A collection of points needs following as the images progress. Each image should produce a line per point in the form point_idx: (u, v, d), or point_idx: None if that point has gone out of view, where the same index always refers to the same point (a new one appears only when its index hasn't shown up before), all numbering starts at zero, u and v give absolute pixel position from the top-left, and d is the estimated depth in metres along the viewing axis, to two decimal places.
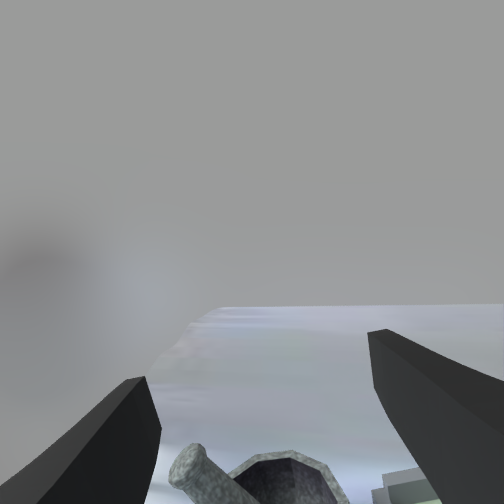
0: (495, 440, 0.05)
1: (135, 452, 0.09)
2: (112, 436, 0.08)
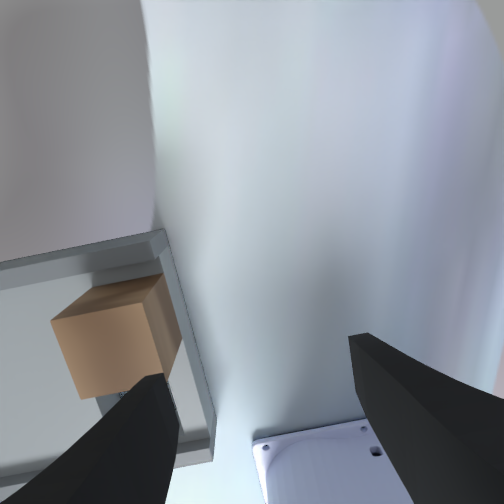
0: (456, 447, 0.05)
1: (157, 448, 0.09)
2: (136, 431, 0.08)
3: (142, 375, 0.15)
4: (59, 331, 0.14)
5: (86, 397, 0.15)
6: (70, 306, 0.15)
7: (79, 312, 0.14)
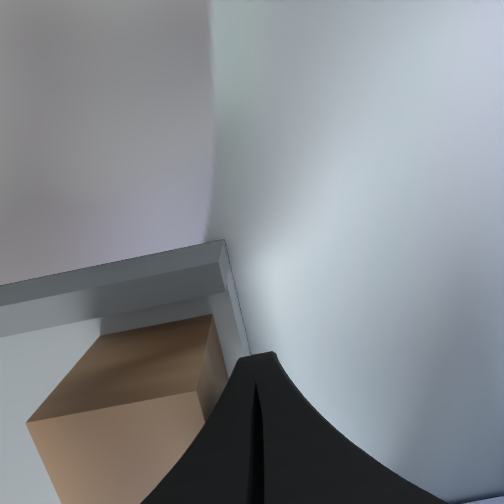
0: (266, 482, 0.05)
1: None
2: (258, 408, 0.08)
3: None
4: (44, 441, 0.08)
5: None
6: (64, 382, 0.09)
7: (79, 402, 0.08)
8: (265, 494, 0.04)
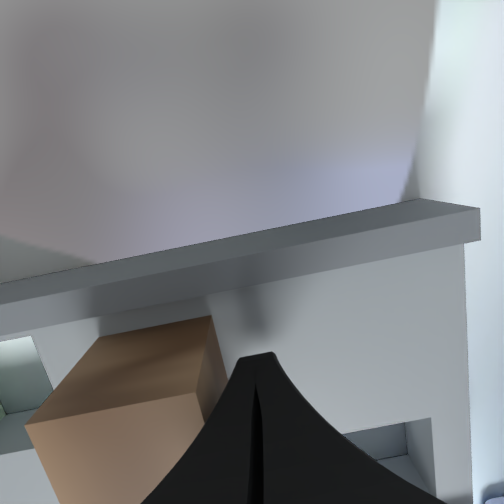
0: (265, 483, 0.05)
1: None
2: (258, 408, 0.08)
3: None
4: (43, 443, 0.08)
5: None
6: (63, 384, 0.09)
7: (78, 404, 0.08)
8: (264, 494, 0.04)
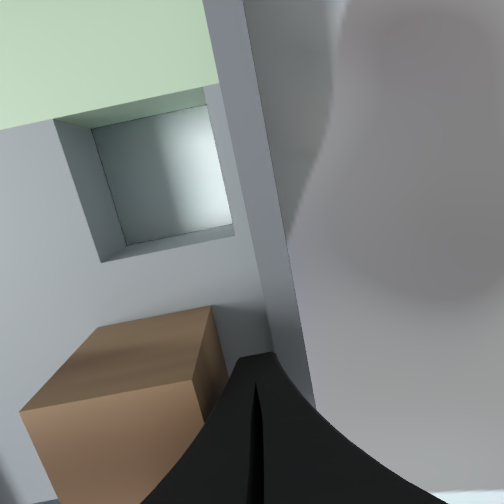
0: (266, 482, 0.05)
1: None
2: (257, 408, 0.08)
3: None
4: (169, 393, 0.07)
5: (26, 423, 0.07)
6: (201, 352, 0.09)
7: (205, 407, 0.08)
8: (265, 494, 0.04)
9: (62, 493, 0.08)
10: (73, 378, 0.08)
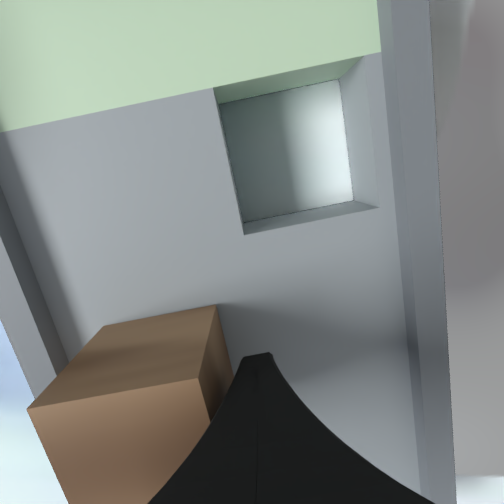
0: (259, 484, 0.05)
1: None
2: None
3: None
4: (175, 391, 0.07)
5: (34, 420, 0.07)
6: (207, 350, 0.09)
7: (211, 406, 0.08)
8: (257, 495, 0.04)
9: (69, 490, 0.08)
10: (80, 376, 0.08)
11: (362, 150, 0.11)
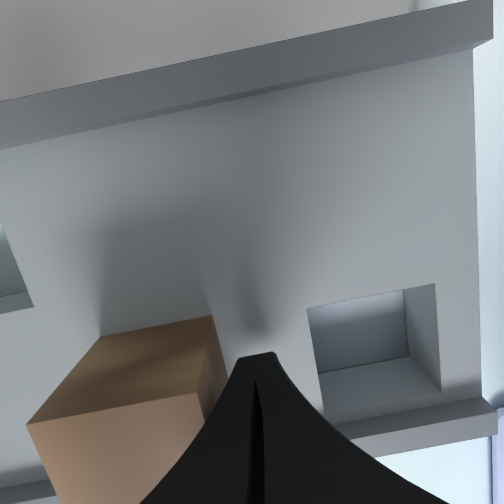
0: (266, 482, 0.05)
1: None
2: (257, 408, 0.08)
3: None
4: (44, 443, 0.08)
5: None
6: (65, 384, 0.09)
7: (79, 404, 0.08)
8: (265, 494, 0.04)
9: None
10: None
11: None
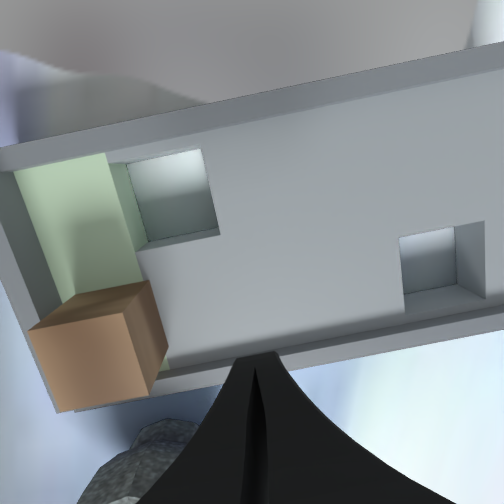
0: (270, 482, 0.05)
1: (263, 427, 0.09)
2: (254, 409, 0.08)
3: (123, 387, 0.14)
4: (37, 342, 0.13)
5: (66, 409, 0.14)
6: (50, 315, 0.15)
7: (57, 321, 0.14)
8: (269, 493, 0.04)
9: (112, 398, 0.14)
10: None
11: (166, 152, 0.16)
